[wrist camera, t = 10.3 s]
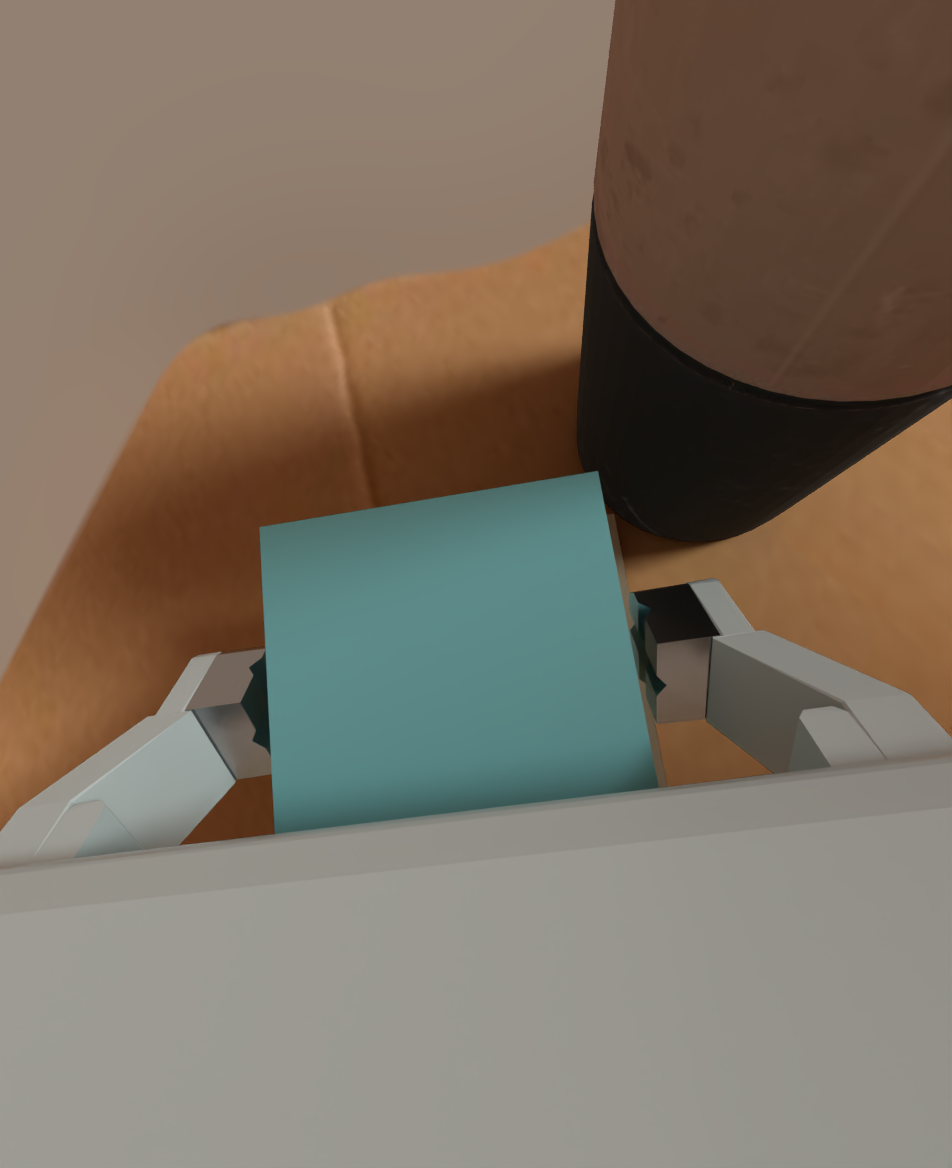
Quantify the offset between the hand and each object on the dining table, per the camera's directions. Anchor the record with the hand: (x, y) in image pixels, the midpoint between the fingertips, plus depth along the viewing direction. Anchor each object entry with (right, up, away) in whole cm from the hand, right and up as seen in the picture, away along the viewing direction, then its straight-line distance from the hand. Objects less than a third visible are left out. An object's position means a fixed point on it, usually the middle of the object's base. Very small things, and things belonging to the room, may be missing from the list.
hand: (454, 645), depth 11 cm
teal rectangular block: (+1, -2, +5) cm, 6 cm away
